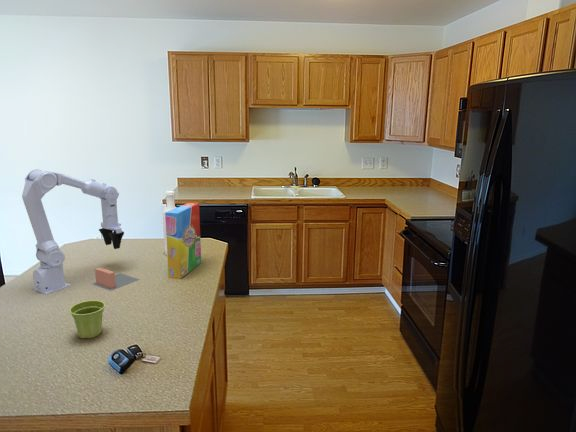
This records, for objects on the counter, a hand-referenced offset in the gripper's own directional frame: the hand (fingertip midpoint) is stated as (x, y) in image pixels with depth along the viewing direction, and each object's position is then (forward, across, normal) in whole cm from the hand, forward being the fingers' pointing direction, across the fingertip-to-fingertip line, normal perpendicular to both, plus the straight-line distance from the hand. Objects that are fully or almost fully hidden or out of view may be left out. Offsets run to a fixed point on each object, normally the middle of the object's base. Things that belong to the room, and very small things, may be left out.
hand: (112, 246), depth 168 cm
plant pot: (+10, -46, +29) cm, 55 cm away
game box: (+10, -22, -20) cm, 32 cm away
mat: (+10, -14, +6) cm, 18 cm away
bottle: (+10, 0, -28) cm, 30 cm away
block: (+10, -15, +10) cm, 21 cm away
